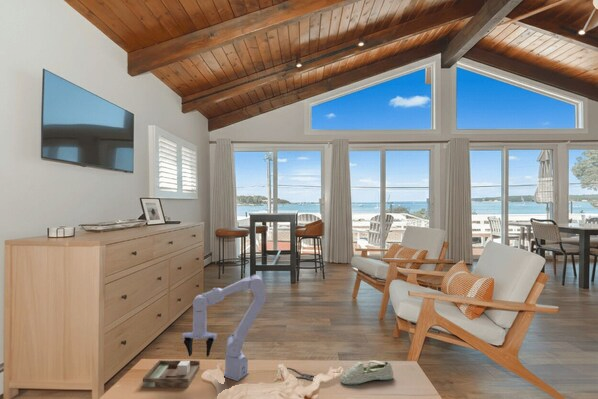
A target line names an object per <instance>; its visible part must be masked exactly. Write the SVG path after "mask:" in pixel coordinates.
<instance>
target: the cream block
mask: <svg viewBox="0 0 598 399" xmlns="http://www.w3.org/2000/svg"><path fill="white" fill-rule="evenodd" d="M190 361H191V360H181V362H180V363H179V364H178V369H177V375H187V374H188V372H189V371H190Z"/></svg>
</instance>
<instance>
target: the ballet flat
mask: <svg viewBox="0 0 598 399" xmlns="http://www.w3.org/2000/svg"><path fill="white" fill-rule="evenodd" d="M371 363H372V365H371ZM393 378H394V370H393V366H392V365H391V362H390V361H386V360H385V361H383V362H382V361H378V360H368V363H367V365H366V366H365V365H364V363H363V362H361V361H358V362H356V363H355V364H353V366H351V367H349V368H348V369H346V370H345V371H344V372H342V373H341V374H340V384H341V383H342V385H344V384H346V385H345V386H357V385H361V384H364V383H366V382H372V381H376V380H377V381H391V380H392V379H393Z"/></svg>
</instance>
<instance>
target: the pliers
mask: <svg viewBox="0 0 598 399" xmlns="http://www.w3.org/2000/svg"><path fill="white" fill-rule="evenodd" d="M287 370H291V371H293V372H295V373H297V374H298V375H300V376H295V377H296V378H298V379H303V380H307V381H309V382H313V381H312V380H313V378H314V376H315V375H313V374H307V373H302V372H300V371H298V370H297V369H295V368H292V367H287Z"/></svg>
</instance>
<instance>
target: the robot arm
mask: <svg viewBox="0 0 598 399" xmlns="http://www.w3.org/2000/svg"><path fill="white" fill-rule="evenodd" d="M241 290H244V291H247V292H249V291H251V293H252V294H253V297H254V298H253V300H252V302H251V304H250V305H249V307H248V309H247V311H246V312H245V314H244V316H243V317H242V319H241V321H240V323H239V324H238V325H237V328H236V329H235V330H234V331H233V333H232V334H231V335H229V336H228V337H227V339H226V351H225V358H224V361H225V366H224V367H225V368H224V371H223V372H224V375H225V377H224V378H228V379H231V380H234V381H235V382H237V381H239V380H241V379H242V378H244V377H245V376H247V375H248V374H249V373H250V372H249V371H248V367H249V366H248V363H249V362H248V360H249V359H248V358H247V356H246V355H244V354H243V350H242V347H243V345H244V342H245V339H246V336H247V334H248V333H249V330H250V329H251V327H252V326H253V324H254V322H255V321H256V319H257V318H258V317H257V316H258V315H259V313H260V312H261V310H262V308H263V306H264V304H265V302H266V300H267V297H266V296H267V295H266V285H265V283H264V280H263V279H262V277H261V276H260V275H259V274H252V275H250V276H246V277H243V278H242V279H239V280H238V281H236V282H234V283H232V284H229V285H228V286H225V287H224V288H222V287H213V288H212V290H209V291H207V292H202V293H201V294H197V295H196V296H195V297H194V299H193V301H192V307H193V310H192V312H193V313H192V331H191V332H183V333H182V337H181V339H182V340H183V344H184V346H185V348H186V349H187V350H186V351H187V353H188V357H191V356H192V355H193V341H194V340H200V339H201V340H205V339H207V340H206V341H205V343H206V345H205V346H206V357H207V358H208V357H209V356H210V354H211V348H212V347H213V343H214V341H215V340H217V337H218V334H217V333H214V332H208V331H207V328H208V327H207V322H208V320H207V314H208V313H207V307H209V306H212V305H214V304H217V303H218V302H221V301H223V300H224V299H225V297H226V296H229V295H231V294H233V293H236V292H239V291H241Z"/></svg>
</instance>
